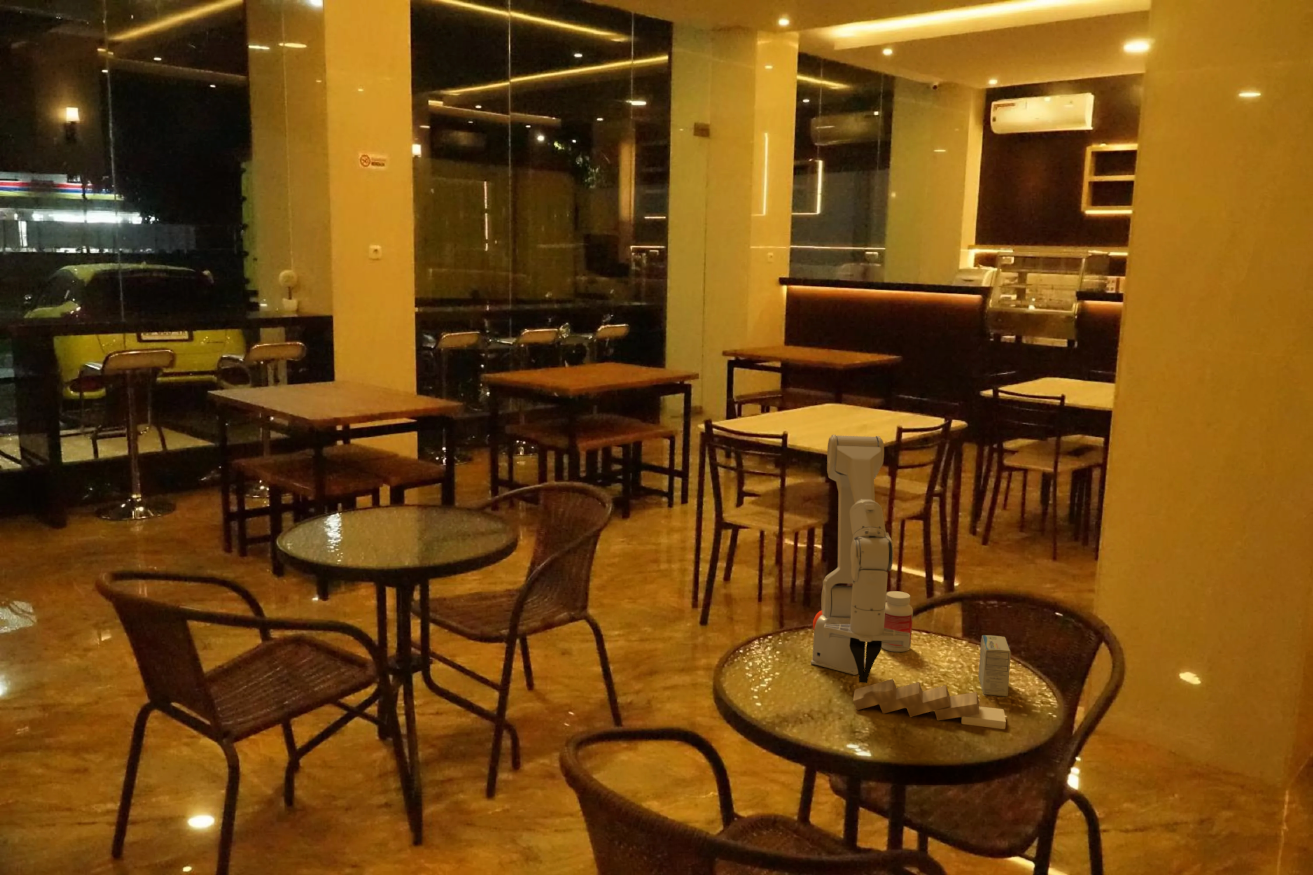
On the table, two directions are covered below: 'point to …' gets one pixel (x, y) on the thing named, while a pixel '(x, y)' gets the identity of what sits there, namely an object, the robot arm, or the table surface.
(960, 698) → the domino
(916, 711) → the domino
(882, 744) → the table surface
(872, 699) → the domino
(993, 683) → the medicine box
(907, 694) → the domino
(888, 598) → the pill bottle
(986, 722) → the end domino
